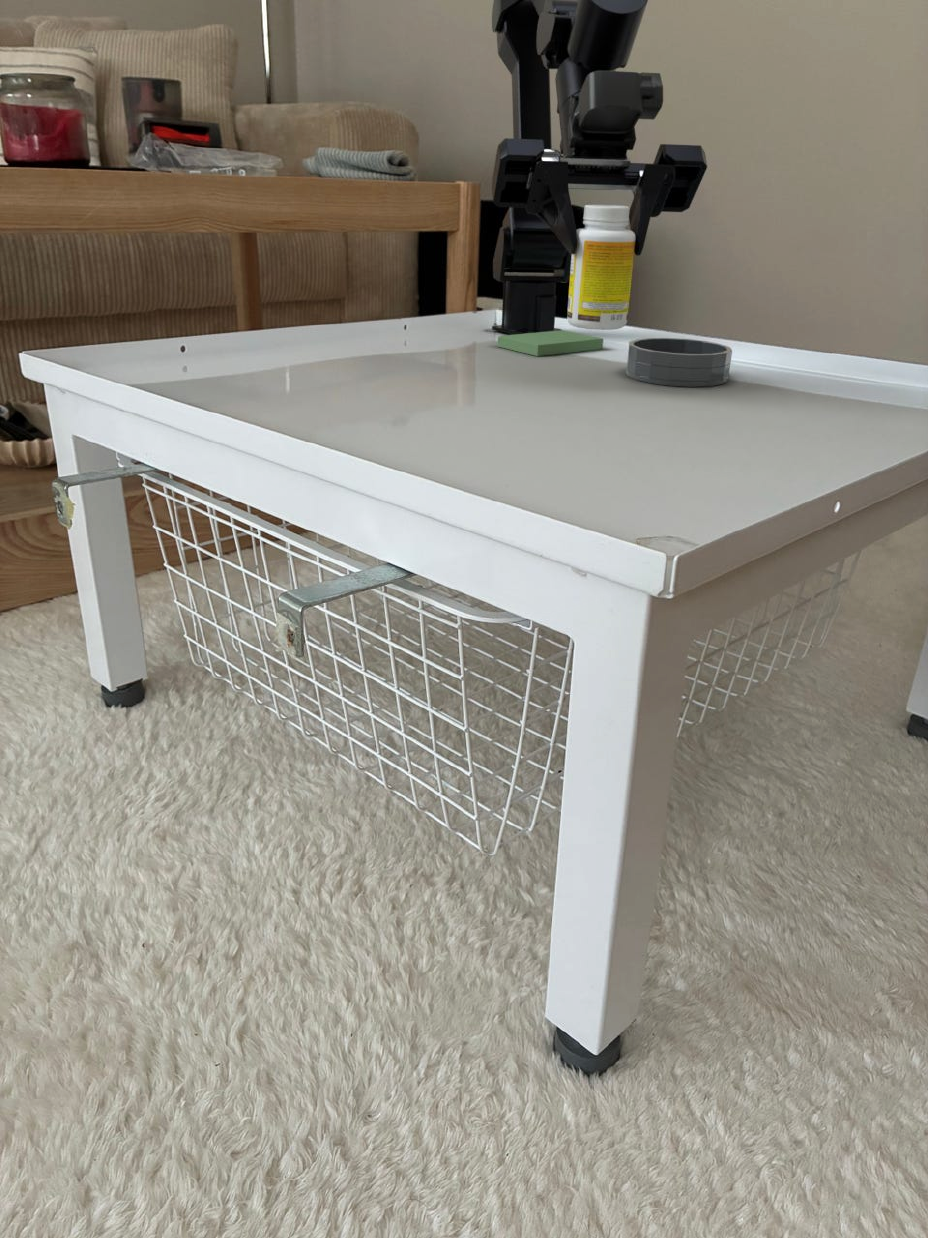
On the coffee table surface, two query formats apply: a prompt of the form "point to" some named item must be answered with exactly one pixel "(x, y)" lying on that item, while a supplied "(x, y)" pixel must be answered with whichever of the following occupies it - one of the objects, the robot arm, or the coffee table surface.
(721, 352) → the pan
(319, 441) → the coffee table surface
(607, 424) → the coffee table surface
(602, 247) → the supplement bottle
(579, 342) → the green rectangular slab
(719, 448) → the coffee table surface
